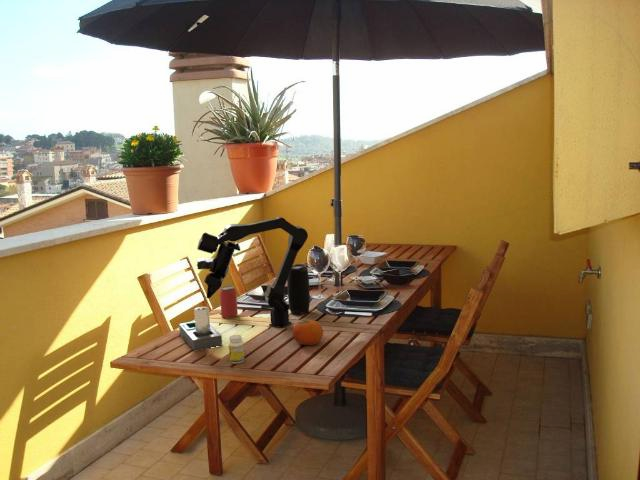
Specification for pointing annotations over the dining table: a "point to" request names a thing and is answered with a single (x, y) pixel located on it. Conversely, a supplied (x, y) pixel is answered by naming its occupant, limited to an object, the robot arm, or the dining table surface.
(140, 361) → the dining table surface
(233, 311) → the beer can
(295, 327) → the fruit
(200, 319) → the steel sleeve
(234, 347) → the supplement bottle
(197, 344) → the jig plate
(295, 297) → the portable speaker
